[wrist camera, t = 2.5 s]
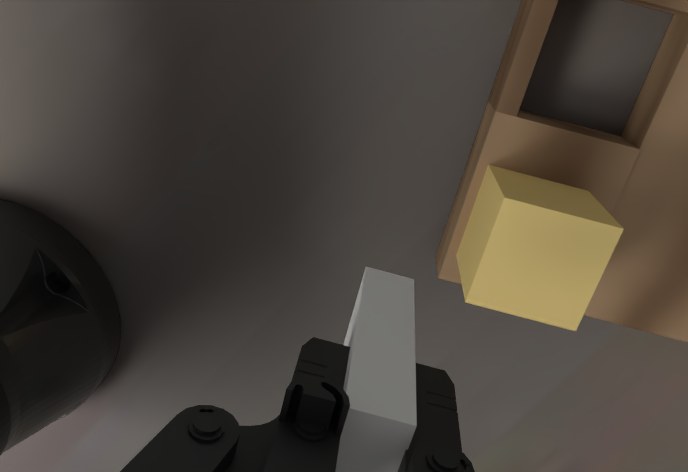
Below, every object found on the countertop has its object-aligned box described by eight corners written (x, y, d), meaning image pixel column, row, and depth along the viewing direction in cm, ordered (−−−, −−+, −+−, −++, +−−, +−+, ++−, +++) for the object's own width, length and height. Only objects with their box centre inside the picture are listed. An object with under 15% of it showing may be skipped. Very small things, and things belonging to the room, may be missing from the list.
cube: (456, 255, 30) (465, 302, 26) (488, 164, 28) (504, 197, 24) (549, 280, 30) (575, 331, 26) (588, 191, 28) (623, 229, 24)
